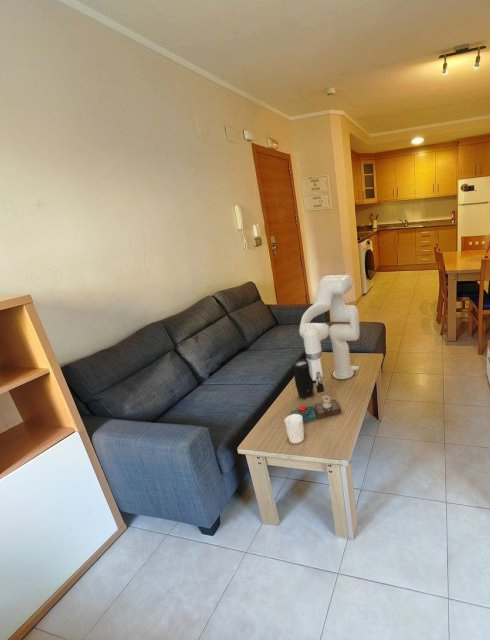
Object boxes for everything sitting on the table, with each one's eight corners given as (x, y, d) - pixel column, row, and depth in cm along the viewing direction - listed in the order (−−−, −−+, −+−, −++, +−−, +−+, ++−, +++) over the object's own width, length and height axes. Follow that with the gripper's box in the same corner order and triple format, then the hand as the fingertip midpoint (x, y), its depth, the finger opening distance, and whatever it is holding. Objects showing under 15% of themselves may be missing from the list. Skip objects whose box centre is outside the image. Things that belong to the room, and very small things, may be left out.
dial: (321, 404, 168) (320, 396, 166) (330, 402, 169) (329, 394, 167) (323, 409, 164) (322, 400, 162) (332, 407, 165) (331, 398, 163)
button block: (313, 409, 170) (312, 402, 169) (316, 419, 162) (315, 412, 160) (291, 414, 167) (290, 407, 166) (293, 425, 159) (292, 417, 158)
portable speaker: (314, 398, 180) (309, 364, 174) (297, 400, 180) (291, 367, 174) (314, 389, 188) (310, 357, 182) (297, 392, 188) (292, 360, 182)
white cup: (290, 446, 145) (286, 426, 141) (285, 436, 152) (282, 417, 148) (308, 440, 147) (304, 421, 144) (302, 430, 154) (299, 411, 151)
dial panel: (336, 404, 173) (335, 398, 172) (340, 413, 164) (340, 407, 163) (315, 409, 170) (314, 403, 169) (318, 418, 162) (317, 413, 161)
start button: (305, 407, 165) (305, 404, 165) (307, 411, 162) (306, 408, 162) (298, 409, 165) (298, 406, 164) (299, 413, 161) (299, 410, 161)
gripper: (302, 349, 164) (307, 381, 169) (309, 363, 148) (314, 397, 153) (317, 346, 165) (322, 377, 171) (326, 360, 150) (330, 394, 155)
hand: (318, 387), depth 162 cm, fingers open, 9 cm apart
